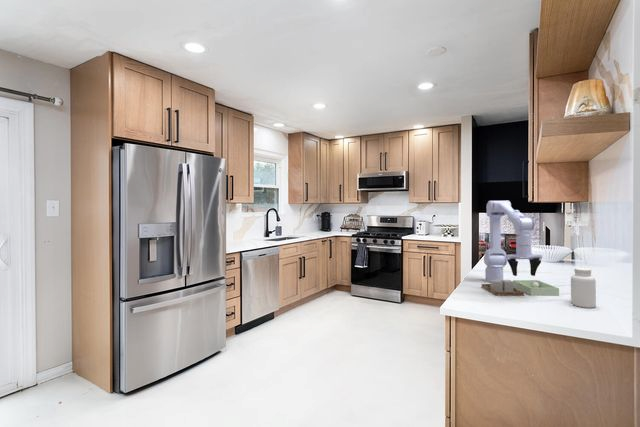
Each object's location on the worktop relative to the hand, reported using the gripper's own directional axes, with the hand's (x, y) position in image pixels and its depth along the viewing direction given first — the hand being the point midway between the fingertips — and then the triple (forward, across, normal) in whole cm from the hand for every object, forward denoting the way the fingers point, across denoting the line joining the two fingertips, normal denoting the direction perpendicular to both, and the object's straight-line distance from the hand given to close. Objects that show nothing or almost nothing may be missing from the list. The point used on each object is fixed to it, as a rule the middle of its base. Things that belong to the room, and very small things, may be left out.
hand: (523, 275), depth 145 cm
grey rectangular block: (+10, -8, +10) cm, 16 cm away
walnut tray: (+10, -5, +10) cm, 15 cm away
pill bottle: (+10, +18, -10) cm, 23 cm away
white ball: (+10, +14, +16) cm, 23 cm away
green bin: (+10, +10, +10) cm, 17 cm away
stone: (+10, -2, +10) cm, 14 cm away
